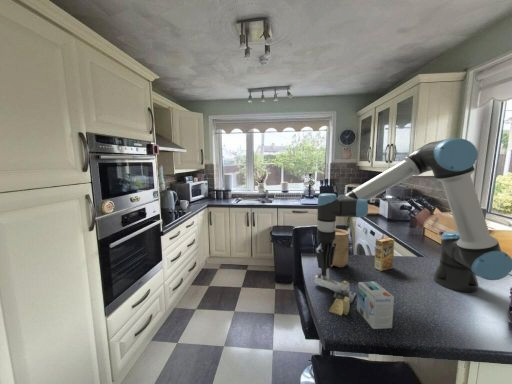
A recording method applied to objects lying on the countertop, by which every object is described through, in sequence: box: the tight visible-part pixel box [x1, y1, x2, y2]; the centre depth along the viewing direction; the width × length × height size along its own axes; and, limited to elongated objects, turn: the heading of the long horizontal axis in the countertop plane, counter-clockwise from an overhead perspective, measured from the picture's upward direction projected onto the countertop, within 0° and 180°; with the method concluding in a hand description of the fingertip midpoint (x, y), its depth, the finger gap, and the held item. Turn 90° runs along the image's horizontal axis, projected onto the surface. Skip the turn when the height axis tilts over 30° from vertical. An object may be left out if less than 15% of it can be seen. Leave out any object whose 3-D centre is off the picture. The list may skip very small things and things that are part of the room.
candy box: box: [374, 237, 395, 272], centre depth 118 cm, size 9×4×15 cm, turn 113°
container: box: [330, 228, 350, 268], centre depth 122 cm, size 13×13×18 cm
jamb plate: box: [332, 290, 357, 304], centre depth 92 cm, size 7×7×1 cm
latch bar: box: [314, 272, 350, 295], centre depth 96 cm, size 15×3×5 cm, turn 46°
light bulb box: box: [356, 280, 395, 330], centre depth 78 cm, size 11×7×11 cm, turn 5°
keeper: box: [328, 297, 351, 317], centre depth 85 cm, size 6×10×5 cm, turn 145°
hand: (325, 282), depth 100 cm, fingers closed
